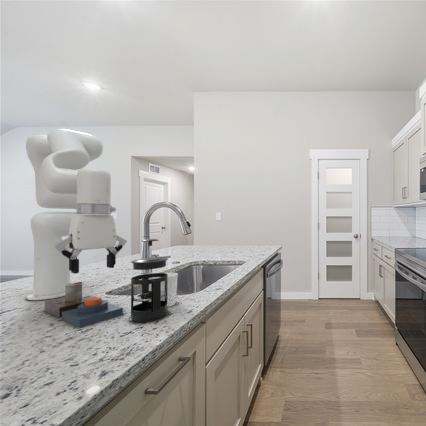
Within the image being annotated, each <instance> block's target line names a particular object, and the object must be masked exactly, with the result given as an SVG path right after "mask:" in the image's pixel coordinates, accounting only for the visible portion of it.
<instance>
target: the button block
mask: <svg viewBox="0 0 426 426" xmlns="http://www.w3.org/2000/svg"><path fill="white" fill-rule="evenodd" d="M123 315H124V307H122V306H119V305H116V304H113V303H110V302H109V301H108V300H107V299H102V300H101V304H98V305H94V306H85V303H83V304H80V305H79V306H78V308H76V309H72V310H68V311H64V312H62V317H61V320H63V321H64V322H67V323H69V324H71V325H73V326H75V327H77V328H78V329H81V328H84V327H87V326H91V325H94V324H97V323H100V322H101V323H102V322H104V321H107V320H111V319H114V318H117V317H118V318H119V317H122V316H123Z"/></svg>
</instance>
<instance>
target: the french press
mask: <svg viewBox="0 0 426 426" xmlns="http://www.w3.org/2000/svg"><path fill="white" fill-rule="evenodd" d="M158 241H160V240H159V239H158V238H157V239H156V238H146V239H142V240H141V242H147V243H148V247H149V257H144V258H143V257H142V258H138V259H133V260H131V264H132V268H133V269H132V270H136V271H148V270H149V271H148V273H144V274H137V275H135V276H133V277H131V279H130V317H129V322H130V323H132V324H146V323H153V322H157V321H159V320H162V319H164V318H165V317H167V316H168V315H169V311H168V307H167V279H168V274H166V273H167V272H152V270H157V269H161V268H165V267H166V266H167V261H168V260H169V259H168V257H158V256H155V257H153V256H152V246H153V242H158ZM153 277H161V278H156V279H151V278H153ZM163 281H165V292H164V291H161V282H163ZM135 285H136V286H141V292H140V293H138V294H136V295H135V294H134V290H135V289H134V286H135ZM164 296H165V301H161V298H162V297H164ZM134 302H138V304H135V305H134ZM139 302H140V303H139Z"/></svg>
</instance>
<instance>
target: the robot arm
mask: <svg viewBox="0 0 426 426" xmlns="http://www.w3.org/2000/svg"><path fill="white" fill-rule="evenodd" d="M25 150H26V154H27V158H28V160H29V162H30V163H31V166H32V168H33V170H34V178H35V179H34V180H35V184H34V185H35V200H36V204H37V205H38V206H39V207H41V208H44V209H55V210H56V209H58V210H75V211H42V212H38V213H35V214H34V215H32V217H31V218H30V228H31V229H30V230H31V233H32V238H33V292H32V293H30V294H28V295H27V296H26V299H27V300H28V301H46V300H53V299H59V298H64V297H65V285H66V284H70V283H71V273H72V274H74V275H75V274H79V273H80V259H79V258H78V256H79V255H80V254H81V252H82V251H87V250H88V251H89V250H99V249H100V250H101V249H105V250H106V252H107V253H108V254H107V255H106V268H109V269H114V268H115V265H116V259H117V255H118V253H119V252H120V251H121V250H122V249H123V247H124V246H125V245H126V244H127V242H128V241H127V239H125V238H123V237H122V236H120V235H118V234H117V227H116V223H115V218H114V216H113V215H112V213H114V212H117V211H116V210H117V208H116V207H115V206H114V207H113V206H112V205H111V191H112V190H111V187H112V184H111V183H112V179H111V178H112V177H111V176H112V175H111V173H110V172H109V171H107V170H105V169H101V168H93V167H89V168H88V167H87V166H88V165H89V163H91V162H93V161H95V160H97V159H98V158H100V157H101V156H102V155H103V150H104V145H103V142H102V141H101V139H100V138H99V137H98V136H96V135H93V134H90V133H85V132H81V131H76V130H71V129H65V128H56V129H52V130H50V131H49V132H48V133H47V134H32V135H29V136H28V137H27V138H26V141H25ZM85 167H86V168H85ZM65 237H66V238H65ZM63 238H65V239H63ZM117 242H118V243H117Z"/></svg>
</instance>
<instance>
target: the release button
mask: <svg viewBox="0 0 426 426" xmlns="http://www.w3.org/2000/svg"><path fill="white" fill-rule="evenodd" d="M101 298H102V297H100V296H96V297H95V298H89V299H86V300H85V306H94V305H98V304H101Z"/></svg>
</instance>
